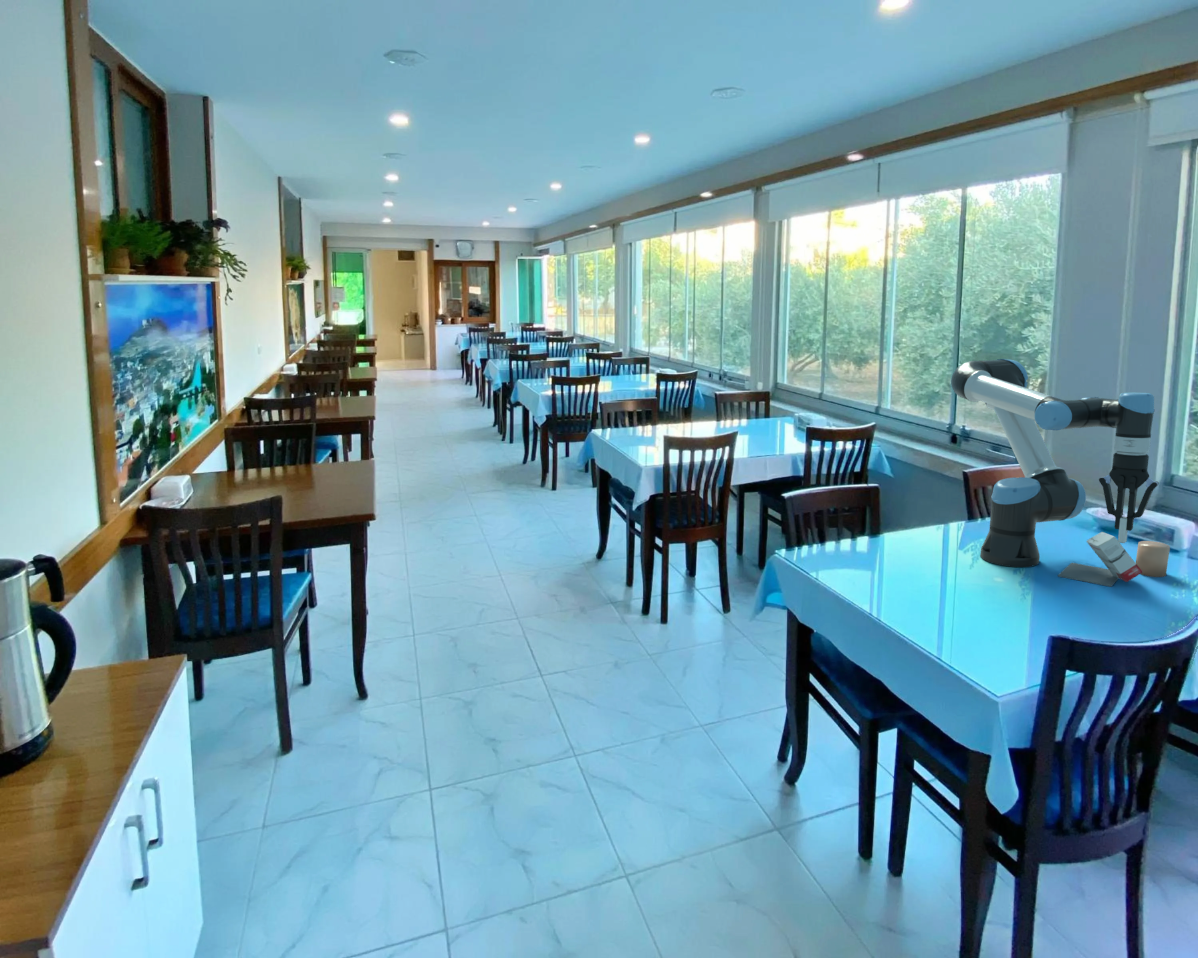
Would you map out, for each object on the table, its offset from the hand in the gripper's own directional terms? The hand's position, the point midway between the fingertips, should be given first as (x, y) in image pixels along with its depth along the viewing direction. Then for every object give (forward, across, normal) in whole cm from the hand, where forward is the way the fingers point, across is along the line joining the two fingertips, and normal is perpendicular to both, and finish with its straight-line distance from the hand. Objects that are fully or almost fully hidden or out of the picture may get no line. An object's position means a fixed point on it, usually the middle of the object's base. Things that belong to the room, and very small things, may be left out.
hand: (1122, 541), depth 201 cm
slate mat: (+11, -7, +2) cm, 13 cm away
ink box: (+9, +2, +1) cm, 9 cm away
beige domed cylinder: (+11, +5, +14) cm, 18 cm away
